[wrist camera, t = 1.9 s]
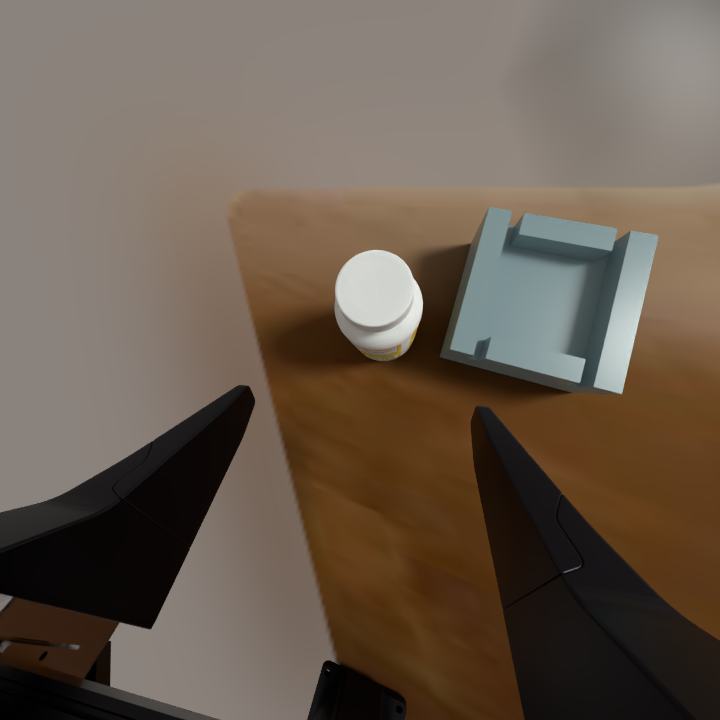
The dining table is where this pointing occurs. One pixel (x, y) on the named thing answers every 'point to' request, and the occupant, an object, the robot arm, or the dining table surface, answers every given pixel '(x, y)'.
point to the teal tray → (550, 301)
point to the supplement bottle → (378, 304)
